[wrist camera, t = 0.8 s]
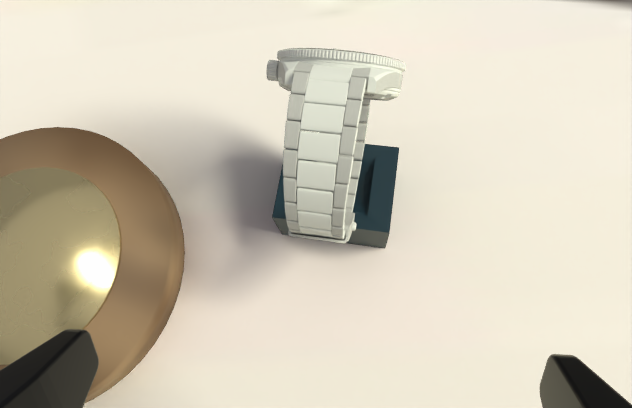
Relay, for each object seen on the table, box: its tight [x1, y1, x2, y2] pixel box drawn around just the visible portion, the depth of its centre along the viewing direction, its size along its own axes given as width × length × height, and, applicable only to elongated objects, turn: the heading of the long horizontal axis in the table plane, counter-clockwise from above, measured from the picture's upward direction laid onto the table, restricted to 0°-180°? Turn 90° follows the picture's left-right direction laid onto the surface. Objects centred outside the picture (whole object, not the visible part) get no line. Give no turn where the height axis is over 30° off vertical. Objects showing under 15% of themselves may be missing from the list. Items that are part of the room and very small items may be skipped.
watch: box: [267, 48, 406, 248], centre depth 20 cm, size 6×8×11 cm
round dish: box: [0, 127, 185, 403], centre depth 24 cm, size 15×15×2 cm
